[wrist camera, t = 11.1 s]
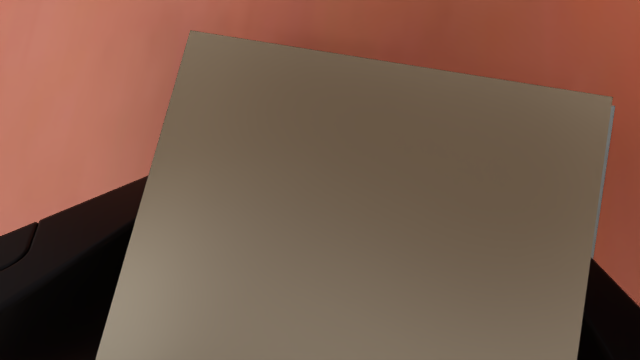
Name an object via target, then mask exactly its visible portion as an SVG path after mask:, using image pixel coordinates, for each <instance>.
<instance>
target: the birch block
mask: <svg viewBox="0 0 640 360" xmlns="http://www.w3.org/2000/svg"><path fill="white" fill-rule="evenodd" d="M612 99H613V97H609V96H603V95H596V94H590V93H584V92H577V91H571V90H565V89H558V88H552V87H546V86H539V85H533V84H527V83H520V82H514V81H508V80H501V79H495V78H489V77H482V76H476V75H470V74H463V73H457V72H451V71H445V70H438V69H432V68H426V67H419V66H413V65H407V64H400V63H394V62H388V61H381V60H375V59H369V58H362V57H356V56H350V55H343V54H337V53H331V52H324V51H318V50H312V49H305V48H299V47H293V46H286V45H280V44H274V43H267V42H261V41H255V40H248V39H242V38H236V37H229V36H223V35H217V34H210V33H204V32H198V31H191V30H190V33H189V37H188V40H187V44H186V47H185V50H184V54H183V57H182V61H181V64H180V68H179V71H178V75H177V78H176V82H175V85H174V89H173V92H172V96H171V99H170V103H169V106H168V109H167V113H166V116H165V120H164V123H163V127H162V130H161V134H160V137H159V141H158V144H157V148H156V151H155V155H154V158H153V161H152V165H151V168H150V172H149V175H148V179H147V182H146V186H145V189H144V193H143V196H142V200H141V203H140V207H139V210H138V213H137V217H136V220H135V224H134V227H133V231H132V234H131V238H130V241H129V245H128V248H127V252H126V255H125V259H124V262H123V265H122V269H121V272H120V276H119V279H118V283H117V286H116V290H115V293H114V297H113V300H112V304H111V307H110V311H109V314H108V318H107V321H106V324H105V328H104V331H103V335H102V338H101V342H100V345H99V349H98V352H97V356H96V359H95V360H577V355H578V348H579V341H580V333H581V326H582V319H583V311H584V304H585V297H586V289H587V282H588V275H589V267H590V260H591V253H592V245H593V238H594V231H595V223H596V216H597V209H598V201H599V194H600V187H601V179H602V172H603V165H604V157H605V150H606V143H607V135H608V128H609V121H610V113H611V106H612Z"/></svg>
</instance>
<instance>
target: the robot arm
mask: <svg viewBox="0 0 640 360" xmlns="http://www.w3.org/2000/svg"><path fill="white" fill-rule="evenodd" d="M147 179H148V176H146V177H144V178H141V179H139V180H136V181H134V182H132V183H129V184H127V185H124V186H122V187H119V188H117V189H115V190H112V191H110V192H107V193H105V194H102V195H100V196H98V197H95V198H93V199H90V200H88V201H85V202H83V203H81V204H78V205H76V206H73V207H71V208H68V209H66V210H63V211H61V212H59V213H56V214H54V215H51V216H49V217H46V218H44V219H42V220H40V221H39V223H37V222H34V223H32V224H29V225H27V226H25V227H22V228H20V229H17V230H15V231H12V232H10V233H7V234H5V235H2V236H0V360H95V359H96V356H97V352H98V349H99V345H100V342H101V338H102V335H103V331H104V328H105V324H106V321H107V318H108V314H109V311H110V307H111V304H112V300H113V297H114V293H115V290H116V286H117V283H118V279H119V276H120V272H121V269H122V265H123V262H124V259H125V255H126V252H127V248H128V245H129V241H130V238H131V234H132V231H133V227H134V224H135V220H136V217H137V213H138V210H139V207H140V203H141V200H142V196H143V193H144V189H145V186H146V182H147ZM577 360H640V307H639V306H638V305H637V304H636V303H635V302H634V301H633V300H632V299H631V298H630V297H629V296H628V295H627V294H626V293H625V292H624V291H623V290H622V289H621V287H620V286H619V285H618V284H617V283H616V282H615V281H614V280H613V279H612V278H611V277H610V276H609V275H608V274H607V273H606V272H605V271H604V270H603V269H602V268H601V267H600V266H599V265H598V264H597V263H596V262H595V261H594V260H593V259H592V258H591V260H590V267H589V275H588V282H587V289H586V297H585V304H584V311H583V319H582V326H581V333H580V341H579V348H578V355H577Z"/></svg>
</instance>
